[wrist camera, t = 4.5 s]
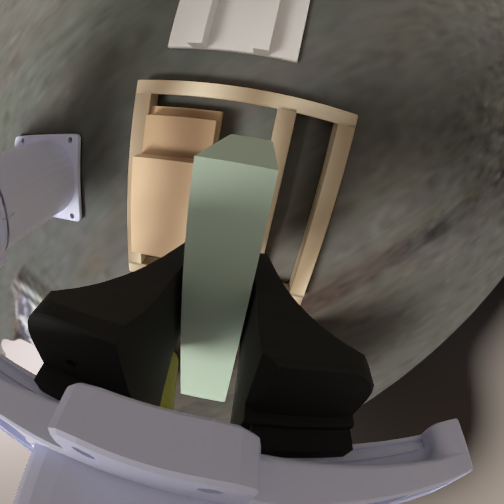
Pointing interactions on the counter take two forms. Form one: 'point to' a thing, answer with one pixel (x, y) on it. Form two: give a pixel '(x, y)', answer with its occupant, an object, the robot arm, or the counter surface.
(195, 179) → the long pale green block
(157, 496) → the robot arm
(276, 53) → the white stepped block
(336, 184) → the rack
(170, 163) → the offcut stack
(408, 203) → the counter surface
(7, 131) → the counter surface
